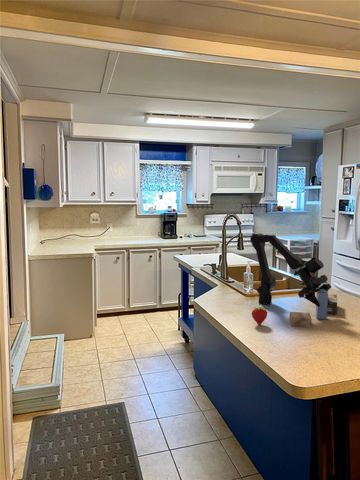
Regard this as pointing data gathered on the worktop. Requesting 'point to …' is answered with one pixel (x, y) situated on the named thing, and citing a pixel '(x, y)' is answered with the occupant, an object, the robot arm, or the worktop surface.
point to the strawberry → (259, 315)
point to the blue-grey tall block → (322, 304)
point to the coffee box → (332, 304)
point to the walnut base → (300, 319)
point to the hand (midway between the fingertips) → (324, 305)
